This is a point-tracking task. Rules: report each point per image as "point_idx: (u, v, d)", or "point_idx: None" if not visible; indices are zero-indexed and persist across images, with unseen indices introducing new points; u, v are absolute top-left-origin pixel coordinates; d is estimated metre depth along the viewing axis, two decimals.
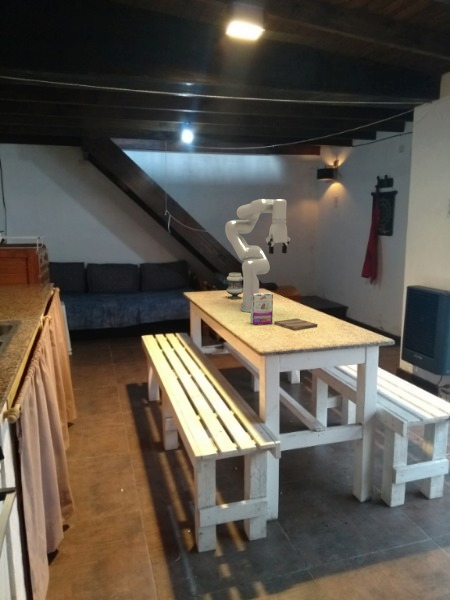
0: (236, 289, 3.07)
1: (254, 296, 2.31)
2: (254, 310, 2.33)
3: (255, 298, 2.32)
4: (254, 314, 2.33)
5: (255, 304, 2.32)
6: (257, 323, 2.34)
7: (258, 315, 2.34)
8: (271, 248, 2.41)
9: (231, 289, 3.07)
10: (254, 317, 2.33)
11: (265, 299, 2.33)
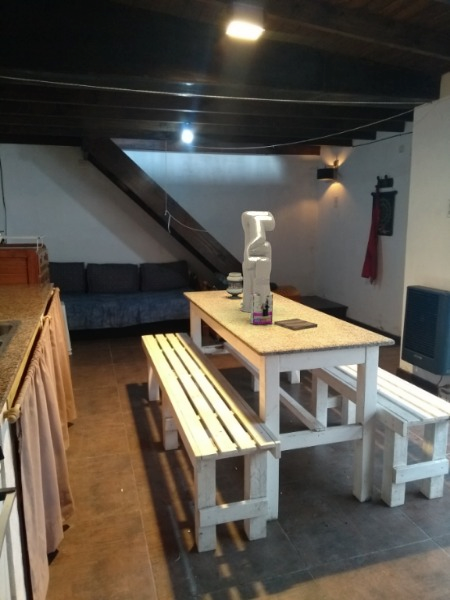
0: (236, 289, 3.07)
1: (254, 296, 2.31)
2: (254, 310, 2.33)
3: (255, 298, 2.32)
4: (254, 314, 2.33)
5: (255, 304, 2.32)
6: (257, 323, 2.34)
7: (258, 315, 2.34)
8: (267, 310, 2.33)
9: (231, 289, 3.07)
10: (254, 317, 2.33)
11: None
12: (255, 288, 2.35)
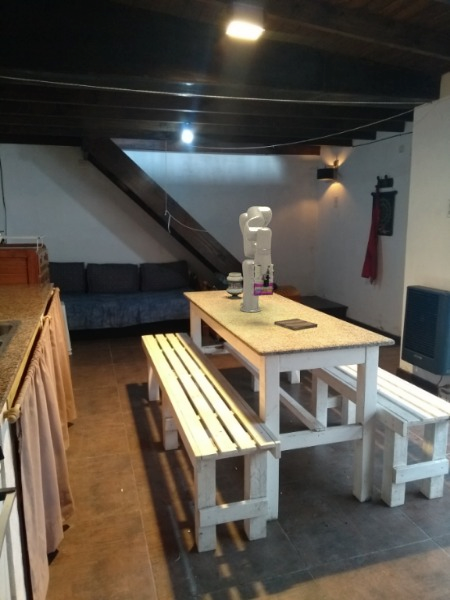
0: (236, 289, 3.07)
1: (255, 266, 2.29)
2: (255, 281, 2.30)
3: (255, 269, 2.29)
4: (255, 285, 2.31)
5: (256, 275, 2.30)
6: (257, 294, 2.32)
7: (258, 286, 2.31)
8: None
9: (231, 289, 3.07)
10: (255, 288, 2.31)
11: None
12: (256, 259, 2.32)
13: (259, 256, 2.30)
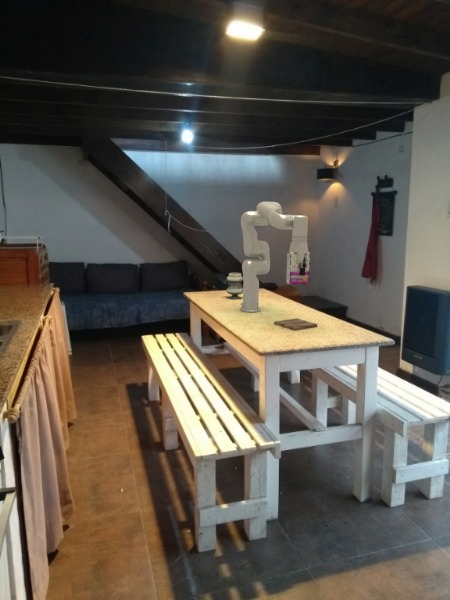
0: (236, 289, 3.07)
1: (291, 254, 2.24)
2: (291, 269, 2.25)
3: (292, 257, 2.24)
4: (291, 273, 2.26)
5: (292, 263, 2.25)
6: (293, 283, 2.27)
7: (294, 274, 2.26)
8: (304, 269, 2.26)
9: (231, 289, 3.07)
10: (291, 276, 2.26)
11: None
12: (292, 247, 2.27)
13: (295, 244, 2.25)
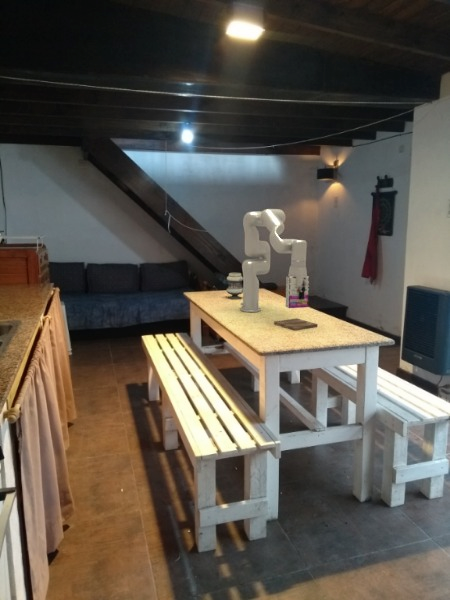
0: (236, 289, 3.07)
1: (290, 278, 2.26)
2: (290, 293, 2.27)
3: (291, 281, 2.26)
4: (290, 297, 2.28)
5: (291, 287, 2.27)
6: (292, 306, 2.29)
7: (294, 298, 2.28)
8: (303, 293, 2.28)
9: (231, 289, 3.07)
10: (290, 300, 2.28)
11: None
12: (291, 271, 2.29)
13: (294, 268, 2.27)
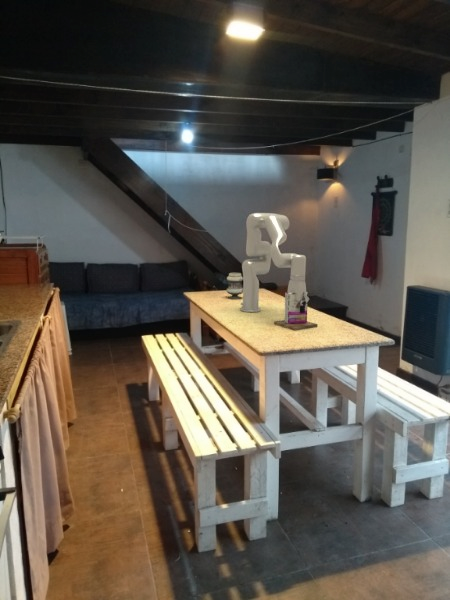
0: (236, 289, 3.07)
1: (289, 295, 2.28)
2: (289, 309, 2.29)
3: (290, 297, 2.28)
4: (289, 313, 2.29)
5: (290, 303, 2.29)
6: (291, 322, 2.31)
7: (293, 314, 2.30)
8: None
9: (231, 289, 3.07)
10: (289, 316, 2.30)
11: None
12: (290, 285, 2.31)
13: (294, 283, 2.28)
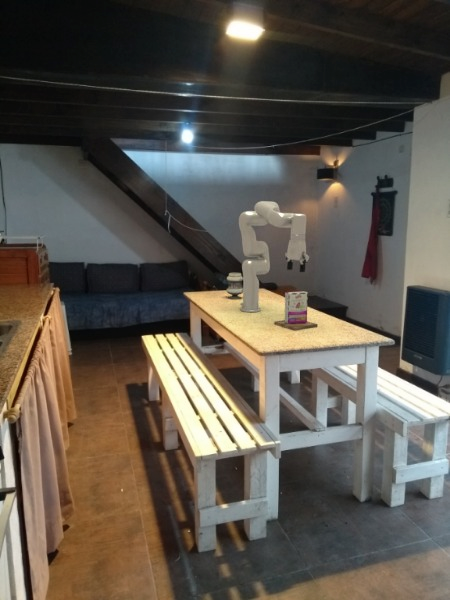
0: (236, 289, 3.07)
1: (289, 295, 2.28)
2: (289, 309, 2.29)
3: (290, 297, 2.28)
4: (289, 313, 2.29)
5: (290, 303, 2.29)
6: (291, 322, 2.31)
7: (293, 314, 2.30)
8: (304, 266, 2.27)
9: (231, 289, 3.07)
10: (289, 316, 2.30)
11: (300, 297, 2.30)
12: (290, 245, 2.30)
13: (294, 242, 2.27)
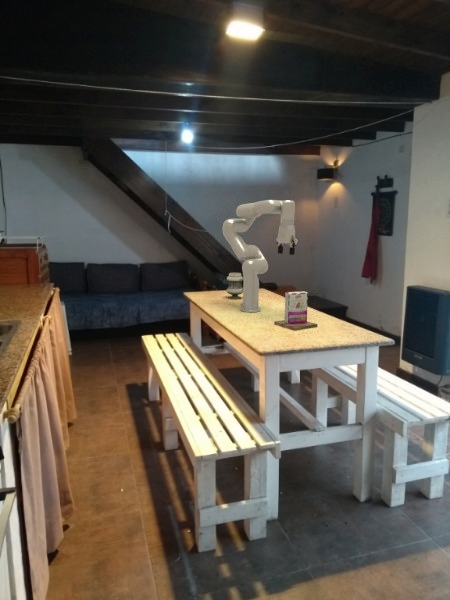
0: (236, 289, 3.07)
1: (289, 295, 2.28)
2: (289, 309, 2.29)
3: (290, 297, 2.28)
4: (289, 313, 2.29)
5: (290, 303, 2.29)
6: (291, 322, 2.31)
7: (293, 314, 2.30)
8: (293, 249, 2.43)
9: (231, 289, 3.07)
10: (289, 316, 2.30)
11: (300, 297, 2.30)
12: (280, 229, 2.46)
13: (283, 227, 2.43)
